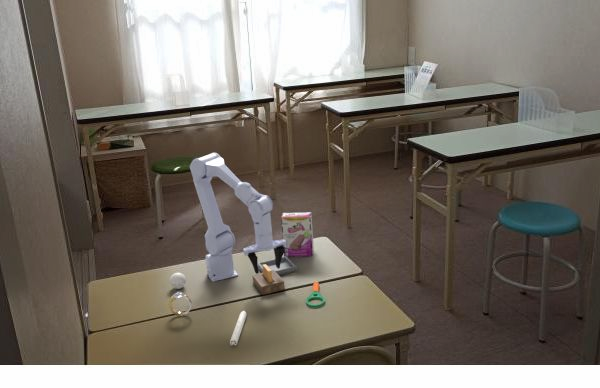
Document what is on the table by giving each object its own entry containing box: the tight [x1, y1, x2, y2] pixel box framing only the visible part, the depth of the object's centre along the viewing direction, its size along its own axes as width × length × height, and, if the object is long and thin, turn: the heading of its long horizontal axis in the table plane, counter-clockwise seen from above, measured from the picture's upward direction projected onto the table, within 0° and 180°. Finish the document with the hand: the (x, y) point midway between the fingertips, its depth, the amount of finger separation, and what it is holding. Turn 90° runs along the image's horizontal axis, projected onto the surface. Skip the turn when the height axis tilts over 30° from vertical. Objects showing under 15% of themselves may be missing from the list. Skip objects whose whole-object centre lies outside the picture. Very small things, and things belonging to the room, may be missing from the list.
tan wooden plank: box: [262, 264, 273, 283], centre depth 201 cm, size 1×6×7 cm, turn 22°
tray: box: [257, 255, 297, 276], centre depth 214 cm, size 11×10×2 cm
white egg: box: [167, 272, 187, 290], centre depth 205 cm, size 8×6×6 cm
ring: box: [167, 291, 192, 317], centre depth 186 cm, size 7×3×8 cm, turn 87°
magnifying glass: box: [305, 281, 326, 309], centre depth 193 cm, size 15×6×2 cm, turn 177°
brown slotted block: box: [251, 270, 286, 296], centre depth 201 cm, size 8×10×3 cm
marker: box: [229, 310, 247, 346], centre depth 176 cm, size 18×2×2 cm, turn 175°
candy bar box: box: [280, 211, 315, 258], centre depth 223 cm, size 11×5×16 cm, turn 84°
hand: (267, 269), depth 200 cm, fingers open, 7 cm apart
